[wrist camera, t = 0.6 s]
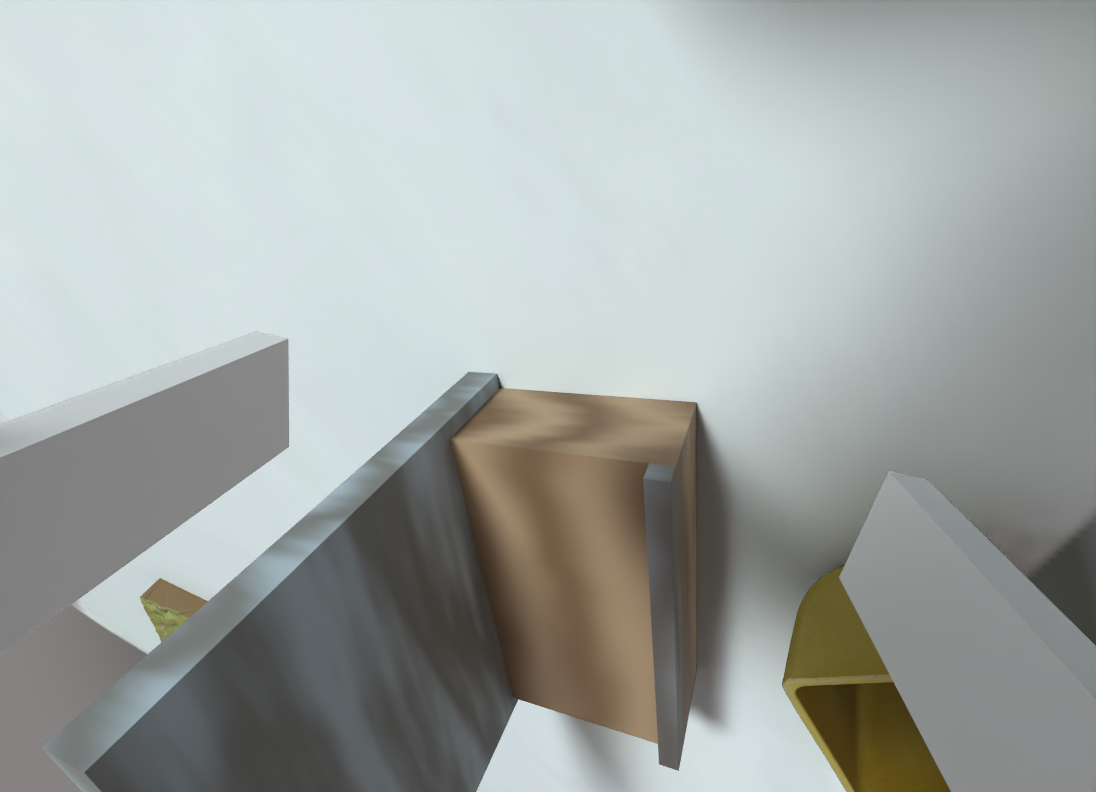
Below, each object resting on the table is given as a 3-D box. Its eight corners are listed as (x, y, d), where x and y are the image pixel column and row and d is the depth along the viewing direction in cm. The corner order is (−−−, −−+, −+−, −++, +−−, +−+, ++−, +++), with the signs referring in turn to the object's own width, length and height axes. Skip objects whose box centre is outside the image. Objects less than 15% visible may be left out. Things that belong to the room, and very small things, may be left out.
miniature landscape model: (334, 739, 75) (307, 777, 71) (206, 671, 82) (175, 701, 78) (309, 645, 64) (276, 683, 60) (163, 574, 70) (124, 604, 66)
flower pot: (782, 545, 32) (777, 684, 24) (960, 512, 27) (1019, 672, 19) (845, 653, 34) (856, 810, 26) (1021, 639, 29) (1094, 828, 21)
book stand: (696, 386, 29) (484, 1004, 10) (696, 677, 40) (598, 1239, 20) (468, 372, 34) (41, 748, 15) (524, 632, 45) (318, 1042, 26)
